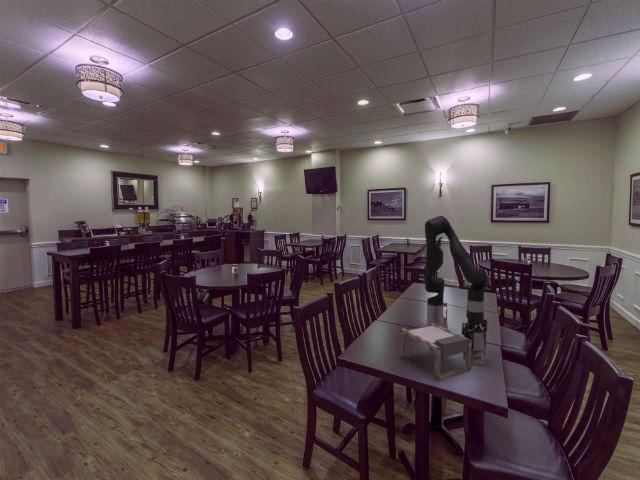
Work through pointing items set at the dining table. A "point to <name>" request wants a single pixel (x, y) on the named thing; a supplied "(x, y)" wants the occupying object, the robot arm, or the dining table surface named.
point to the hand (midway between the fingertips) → (474, 342)
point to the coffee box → (477, 347)
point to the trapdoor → (443, 340)
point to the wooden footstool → (438, 352)
